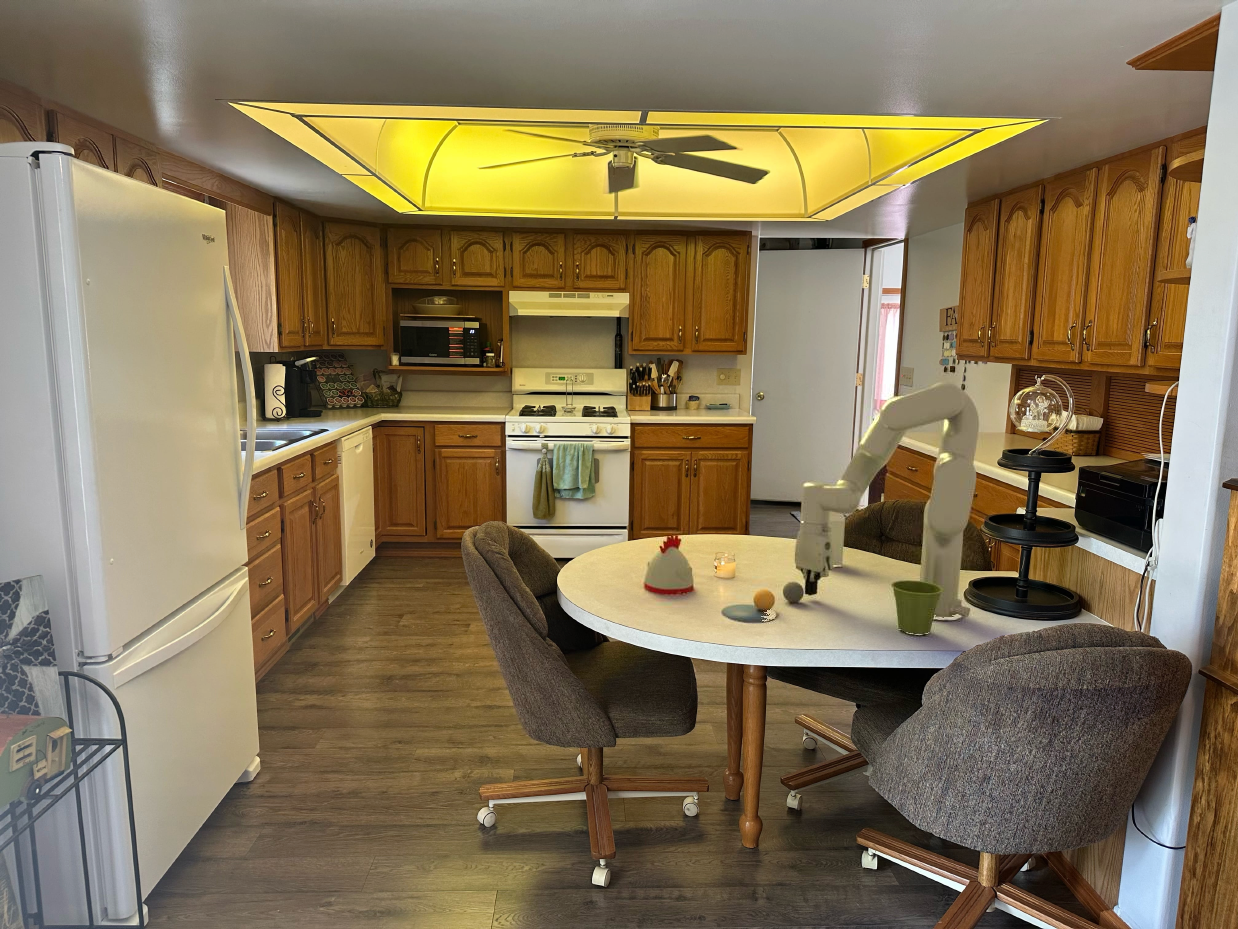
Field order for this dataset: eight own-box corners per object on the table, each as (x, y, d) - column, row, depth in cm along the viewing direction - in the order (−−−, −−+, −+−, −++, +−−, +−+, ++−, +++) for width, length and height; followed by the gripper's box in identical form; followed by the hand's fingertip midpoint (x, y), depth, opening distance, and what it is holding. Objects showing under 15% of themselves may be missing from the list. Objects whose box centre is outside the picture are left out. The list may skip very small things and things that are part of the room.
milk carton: (842, 568, 259) (845, 508, 257) (819, 567, 259) (822, 507, 257) (836, 562, 266) (840, 503, 264) (814, 561, 267) (817, 503, 264)
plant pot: (927, 623, 209) (931, 579, 207) (947, 640, 197) (951, 594, 195) (881, 623, 208) (884, 579, 206) (898, 639, 196) (901, 593, 195)
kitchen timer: (703, 588, 234) (705, 536, 232) (670, 598, 225) (672, 544, 223) (667, 578, 244) (668, 528, 242) (634, 586, 235) (635, 534, 232)
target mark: (788, 616, 211) (788, 615, 211) (748, 626, 203) (748, 625, 203) (749, 602, 223) (749, 601, 223) (710, 610, 214) (710, 610, 214)
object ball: (771, 588, 213) (760, 606, 211) (782, 599, 215) (772, 617, 214) (756, 583, 217) (745, 600, 216) (767, 593, 220) (756, 611, 219)
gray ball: (793, 581, 220) (790, 602, 219) (809, 584, 222) (806, 604, 222) (779, 579, 225) (777, 600, 224) (795, 581, 227) (793, 602, 227)
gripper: (845, 531, 220) (841, 599, 222) (802, 521, 232) (799, 585, 234) (826, 535, 215) (822, 603, 218) (784, 524, 227) (780, 589, 230)
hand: (810, 594), depth 226 cm, fingers closed
